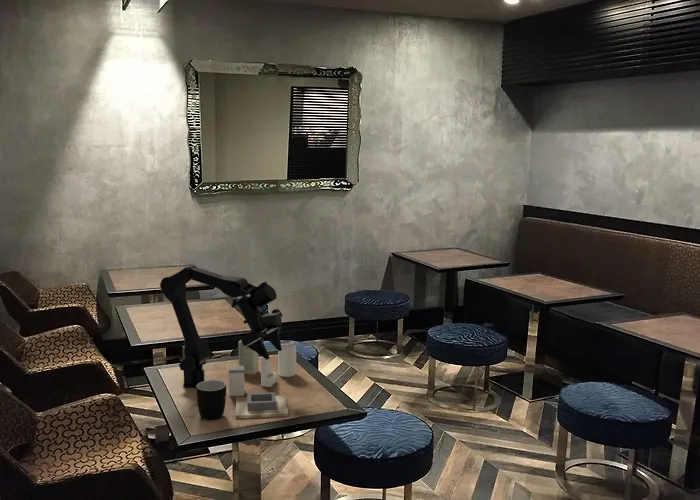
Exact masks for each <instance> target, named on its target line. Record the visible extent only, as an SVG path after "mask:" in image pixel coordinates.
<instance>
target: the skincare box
mask: <svg viewBox="0 0 700 500" xmlns="http://www.w3.org/2000/svg"><path fill="white" fill-rule="evenodd" d="M237 344H238V345H237V346H238V347H237V348H238V366H244V375H246V374H247V375H252V376H253V375H256V373H258V372H259V354H258V353H257V352H255V351H253V350H252V349H250V348H247V346H248V345H249V344H248V345H246V346H243V344H242V343H241V339H240V340H239V341H238V342H237Z"/></svg>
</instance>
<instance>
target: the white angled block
mask: <svg viewBox="0 0 700 500" xmlns="http://www.w3.org/2000/svg"><path fill="white" fill-rule="evenodd" d="M276 382H277V372H273V371H272V362H271V361H270V360H269V359H268V360H266V359H265V358H263V357H261V358H260V387H267V388H272V387H273V385H274V384H275V383H276Z"/></svg>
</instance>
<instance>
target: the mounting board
mask: <svg viewBox="0 0 700 500" xmlns="http://www.w3.org/2000/svg"><path fill="white" fill-rule="evenodd" d="M275 396H276V410H257V411H247V396H243V397H242V396H239V397H236V398H235V399H236V400H235V402H236V403H235V420H237V419H254V418H256V419H257V418H258V419H259V418H275V417H276V418H278V417H289V409H288V403H287V398H286V397H287V395H275Z"/></svg>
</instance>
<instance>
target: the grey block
mask: <svg viewBox="0 0 700 500" xmlns="http://www.w3.org/2000/svg"><path fill="white" fill-rule="evenodd" d="M228 396H229V397H237V396H239V397H242V396H243V397H245V374H244V366H239V365H233V366H232V365H231V366H228Z"/></svg>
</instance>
